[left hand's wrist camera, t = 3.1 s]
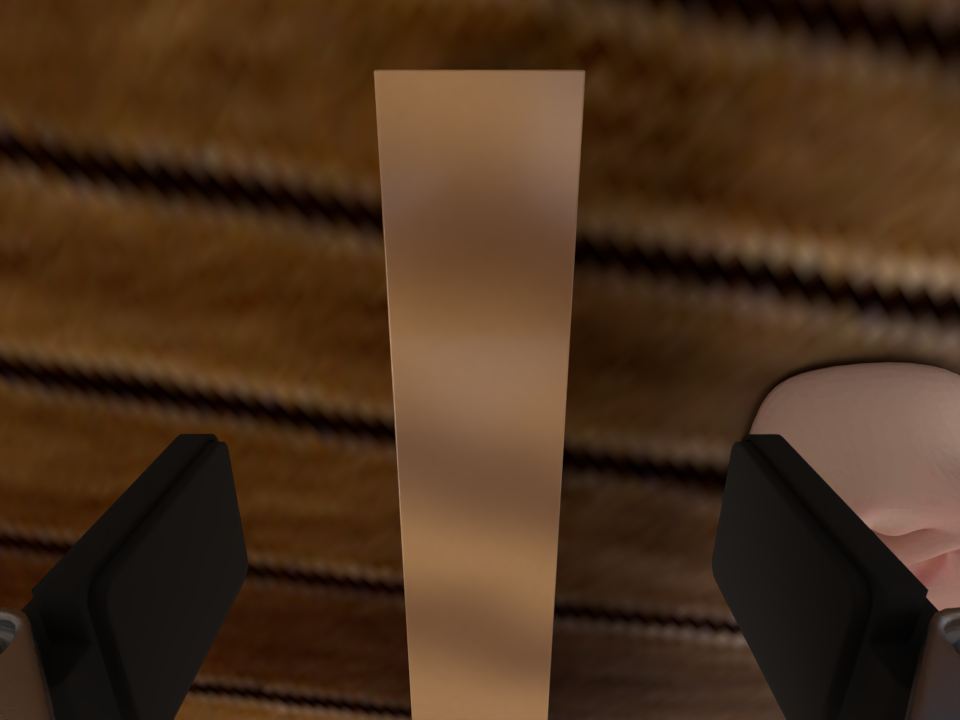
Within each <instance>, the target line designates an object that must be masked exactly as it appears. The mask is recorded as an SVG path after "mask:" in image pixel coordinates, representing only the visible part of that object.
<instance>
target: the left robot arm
mask: <svg viewBox="0 0 960 720" xmlns="http://www.w3.org/2000/svg"><path fill="white" fill-rule="evenodd" d="M247 568H248V559H247V553H246V547H245V541H244V536H243V530H242V524H241V519H240V513H239V507H238V502H237V496H236V490H235V485H234V479H233V473H232V468H231V462H230V456H229V451H228V447H227V445H226V443H225V442H219V441H218V439H217V437H216V436H215V435H214V434H180V435H179V436H178V437H177V438H176V439H175V440H174V441H173V442H172V443H171V444H170V445H169V446H168V447H167V448H166V449H165V450H164V451H163V452H162V453H161V454H160V455H159V456H158V458H157V459H156V460H155V461H154V462H153V463H152V464H151V465H150V466H149V467H148V468H147V469H146V470H145V471H144V472H143V473H142V474H141V475H140V476H139V478H138V479H137V480H136V481H135V482H134V483H133V484H132V485H131V486H130V487H129V488H128V489H127V490H126V491H125V492H124V493H123V494H122V495H121V496H120V498H119V499H118V500H117V501H116V502H115V503H114V504H113V505H112V506H111V507H110V508H109V509H108V510H107V511H106V512H105V513H104V514H103V515H102V516H101V518H100V519H99V520H98V521H97V522H96V523H95V524H94V525H93V526H92V527H91V528H90V529H89V530H88V531H87V532H86V533H85V534H84V535H83V536H82V538H81V539H80V540H79V541H78V542H77V543H76V544H75V545H74V546H73V547H72V548H71V549H70V550H69V551H68V552H67V553H66V554H65V555H64V556H63V558H62V559H61V560H60V561H59V562H58V563H57V564H56V565H55V566H54V567H53V568H52V569H51V570H50V571H49V572H48V573H47V574H46V575H45V576H44V578H43V579H42V580H41V581H40V582H39V583H38V584H37V585H36V586H35V587H34V588H33V589H32V593H33V596H34V598H33V599H32V600H31V601H30V602H29V603H28V604H27V605H26V606H25V607H24V608H23V609H22V610H21V611H19V610H17V609H15V608H3V607H0V720H174V718H175V716H176V714H177V712H178V710H179V708H180V706H181V704H182V702H183V700H184V698H185V696H186V694H187V692H188V690H189V688H190V686H191V684H192V682H193V680H194V679H195V677H196V675H197V673H198V671H199V669H200V667H201V665H202V663H203V661H204V659H205V657H206V655H207V653H208V651H209V649H210V647H211V645H212V643H213V641H214V639H215V637H216V635H217V633H218V631H219V629H220V628H221V626H222V624H223V622H224V620H225V618H226V616H227V614H228V612H229V610H230V608H231V606H232V604H233V602H234V600H235V598H236V596H237V594H238V592H239V590H240V588H241V586H242V584H243V582H244V580H245V578H246V574H247ZM712 568H713V574H714V578H715V580H716V582H717V584H718V586H719V588H720V590H721V592H722V594H723V596H724V598H725V600H726V602H727V604H728V606H729V608H730V610H731V612H732V614H733V616H734V618H735V620H736V622H737V624H738V626H739V628H740V629H741V631H742V633H743V635H744V637H745V639H746V641H747V643H748V645H749V647H750V649H751V651H752V653H753V655H754V657H755V659H756V661H757V663H758V665H759V667H760V669H761V671H762V673H763V675H764V677H765V679H766V681H767V682H768V684H769V686H770V688H771V690H772V692H773V694H774V696H775V698H776V700H777V702H778V704H779V706H780V708H781V710H782V712H783V714H784V716H785V718H786V720H960V607H957V608H945V609H943V610H941V611H939V610H938V609H937V608H936V607H935V606H934V605H933V604H932V603H931V602H930V601H929V600H928V599H927V598H926V596H927V593H928V589H927V588H926V587H925V586H924V585H923V584H922V583H921V582H920V581H919V580H918V579H917V578H916V576H915V575H914V574H913V573H912V572H911V571H910V570H909V569H908V568H907V567H906V566H905V565H904V564H903V563H902V562H901V561H900V560H899V559H898V558H897V556H896V555H895V554H894V553H893V552H892V551H891V550H890V549H889V548H888V547H887V546H886V545H885V544H884V543H883V542H882V541H881V540H880V539H879V538H878V536H877V535H876V534H875V533H874V532H873V531H872V530H871V529H870V528H869V527H868V526H867V525H866V524H865V523H864V522H863V521H862V520H861V519H860V518H859V516H858V515H857V514H856V513H855V512H854V511H853V510H852V509H851V508H850V507H849V506H848V505H847V504H846V503H845V502H844V501H843V500H842V499H841V498H840V496H839V495H838V494H837V493H836V492H835V491H834V490H833V489H832V488H831V487H830V486H829V485H828V484H827V483H826V482H825V481H824V480H823V479H822V478H821V476H820V475H819V474H818V473H817V472H816V471H815V470H814V469H813V468H812V467H811V466H810V465H809V464H808V463H807V462H806V461H805V460H804V459H803V458H802V457H801V455H800V454H799V453H798V452H797V451H796V450H795V449H794V448H793V447H792V446H791V445H790V444H789V443H788V442H787V441H786V440H785V439H784V438H783V437H782V436H781V435H780V434H746V435H745V436H744V437H743V439H742V441H741V442H735V443H734V445H733V447H732V451H731V456H730V462H729V468H728V473H727V479H726V485H725V490H724V496H723V502H722V507H721V513H720V519H719V524H718V530H717V536H716V541H715V547H714V553H713V559H712Z"/></svg>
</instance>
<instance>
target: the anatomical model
mask: <svg viewBox="0 0 960 720" xmlns="http://www.w3.org/2000/svg"><path fill="white" fill-rule="evenodd" d="M749 434H780V435H781V436H782V437H783V438H784V439H785V440H786V441H787V442H788V443H789V444H790V445H791V446H792V447H793V448H794V449H795V450H796V451H797V452H798V453H799V454H800V455H801V457H802V458H803V459H804V460H805V461H806V462H807V463H808V464H809V465H810V466H811V467H812V468H813V469H814V470H815V471H816V472H817V473H818V474H819V475H820V476H821V478H822V479H823V480H824V481H825V482H826V483H827V484H828V485H829V486H830V487H831V488H832V489H833V490H834V491H835V492H836V493H837V494H838V495H839V496H840V498H841V499H842V500H843V501H844V502H845V503H846V504H847V505H848V506H849V507H850V508H851V509H852V510H853V511H854V512H855V513H856V514H857V515H858V516H859V518H860V519H861V520H862V521H863V522H864V523H865V524H866V525H867V526H868V527H869V528H870V529H871V530H872V531H873V532H874V533H875V534H876V535H877V536H878V538H879V539H880V540H881V541H882V542H883V543H884V544H885V545H886V546H887V547H888V548H889V549H890V550H891V551H892V552H893V553H894V554H895V555H896V556H897V558H898V559H899V560H900V561H901V562H902V563H903V564H904V565H905V566H906V567H907V568H908V569H909V570H910V571H911V572H912V573H913V574H914V575H915V576H916V578H917V579H918V580H919V581H920V582H921V583H922V584H923V585H924V586H925V587H926V588H927V589H928V593H927V596H926V598H927V599H928V600H929V601H930V602H931V603H932V604H933V605H934V606H935V607H936V608H937V609H938V610H939V611H941V610H943V609H945V608H957V607H960V375H958V374H956V373H953V372H951V371H949V370H946V369H943V368H939V367H935V366H930V365H923V364H916V363H900V362H880V363H860V364H851V365H842V366H833V367H828V368H823V369H817V370H812V371H808V372H804V373H801V374H798V375H796V376H793V377H791V378H788V379H787V380H785V381H783V382H782V383H780V384H779V385H777V386H776V387H775V388H774V389H773V390H772V391H771V392H770V393H769V394H768V395H767V397H766V398H765V399H764V401H763V403H762V404H761V406H760V408H759V410H758V413H757V415H756V417H755V419H754V422H753V424H752V427H751V430H750V433H749Z"/></svg>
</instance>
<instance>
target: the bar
mask: <svg viewBox="0 0 960 720" xmlns="http://www.w3.org/2000/svg"><path fill="white" fill-rule="evenodd" d="M585 73H586V72H585V70H374V83H375V100H376V117H377V134H378V151H379V167H380V184H381V201H382V218H383V235H384V252H385V269H386V286H387V303H388V320H389V337H390V354H391V371H392V388H393V405H394V422H395V439H396V456H397V473H398V490H399V507H400V523H401V540H402V557H403V574H404V591H405V608H406V625H407V642H408V659H409V676H410V693H411V710H412V720H548V706H549V689H550V672H551V654H552V637H553V620H554V603H555V586H556V569H557V552H558V535H559V518H560V501H561V484H562V467H563V449H564V432H565V415H566V398H567V381H568V364H569V347H570V330H571V313H572V296H573V279H574V261H575V244H576V227H577V210H578V193H579V176H580V159H581V142H582V125H583V108H584V91H585Z"/></svg>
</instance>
